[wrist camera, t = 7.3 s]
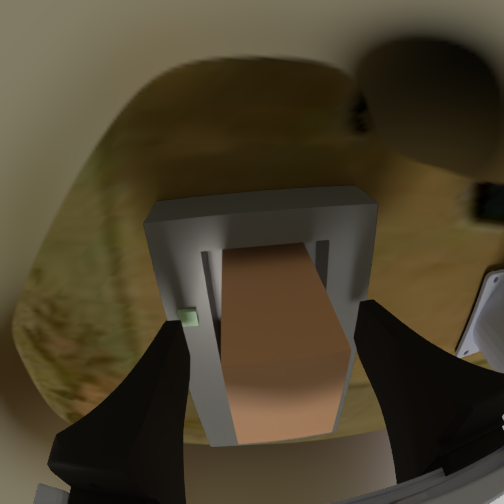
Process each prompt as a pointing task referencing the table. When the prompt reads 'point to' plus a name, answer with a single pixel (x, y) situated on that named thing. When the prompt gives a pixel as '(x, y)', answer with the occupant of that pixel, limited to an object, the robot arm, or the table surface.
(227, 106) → the table surface
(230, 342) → the tan rectangular block
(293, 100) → the table surface
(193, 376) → the grey slotted tray
